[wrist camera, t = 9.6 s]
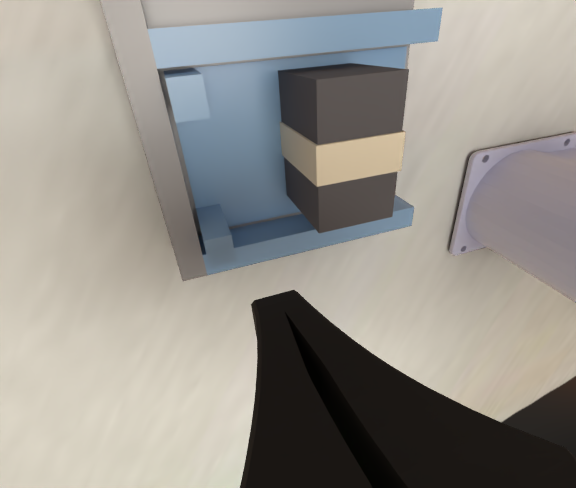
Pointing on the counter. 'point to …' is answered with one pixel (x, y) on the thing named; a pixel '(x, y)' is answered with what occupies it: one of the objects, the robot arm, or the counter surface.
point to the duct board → (243, 112)
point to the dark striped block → (342, 141)
